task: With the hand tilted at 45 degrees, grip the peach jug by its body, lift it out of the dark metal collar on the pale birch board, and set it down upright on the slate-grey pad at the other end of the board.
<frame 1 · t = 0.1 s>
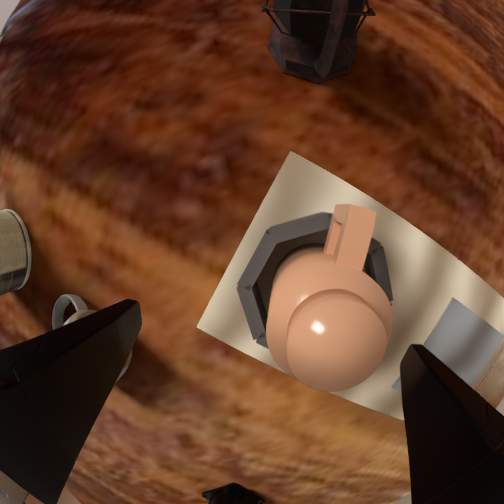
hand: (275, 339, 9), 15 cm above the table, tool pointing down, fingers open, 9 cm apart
coffee can: (10, 249, 27), on the table
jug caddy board: (390, 323, 24), on the table
peach jug: (313, 284, 22), point 1 cm above the table, touching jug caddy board
lantern: (312, 47, 21), on the table
ceramic mug: (96, 335, 28), on the table
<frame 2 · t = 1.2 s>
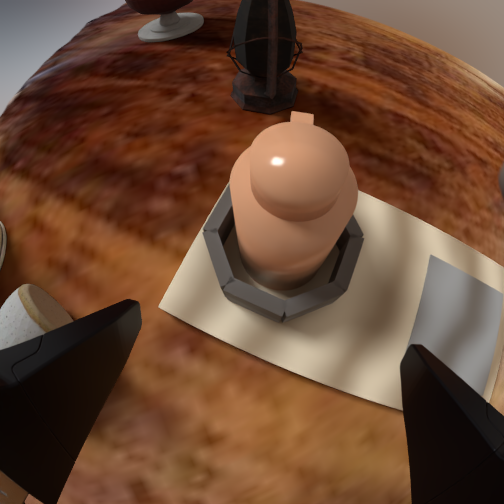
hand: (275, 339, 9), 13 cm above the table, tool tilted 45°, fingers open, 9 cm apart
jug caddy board: (375, 297, 22), on the table
peach jug: (281, 249, 22), point 2 cm above the table, touching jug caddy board
lantern: (264, 94, 32), on the table
ceramic mug: (45, 340, 22), on the table
mate gourd: (172, 26, 41), on the table
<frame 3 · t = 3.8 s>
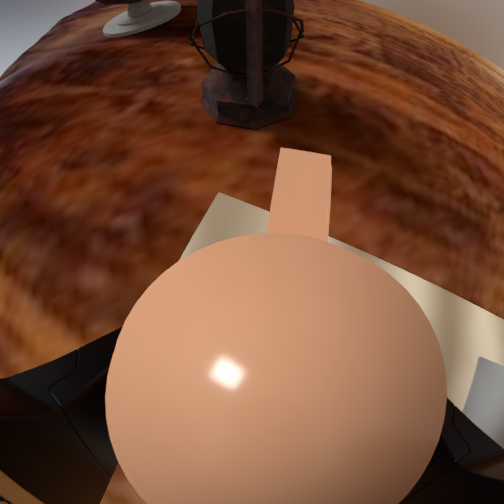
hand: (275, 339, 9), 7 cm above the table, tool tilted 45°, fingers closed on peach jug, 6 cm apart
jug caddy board: (397, 421, 13), on the table
peach jug: (263, 375, 13), point 2 cm above the table, touching gripper, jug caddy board
lantern: (249, 99, 22), on the table
mate gourd: (143, 17, 31), on the table
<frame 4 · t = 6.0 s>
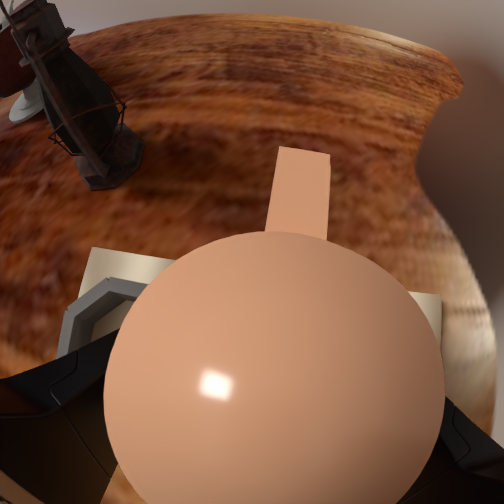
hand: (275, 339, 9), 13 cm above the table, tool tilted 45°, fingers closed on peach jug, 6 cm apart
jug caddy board: (250, 380, 20), on the table
peach jug: (263, 374, 13), point 8 cm above the table, touching gripper
lantern: (112, 161, 28), on the table
mate gourd: (38, 95, 35), on the table
when the fingers open (8 cm above the table, at t = 8.3 s): peach jug drops 1 cm, resting on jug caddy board.
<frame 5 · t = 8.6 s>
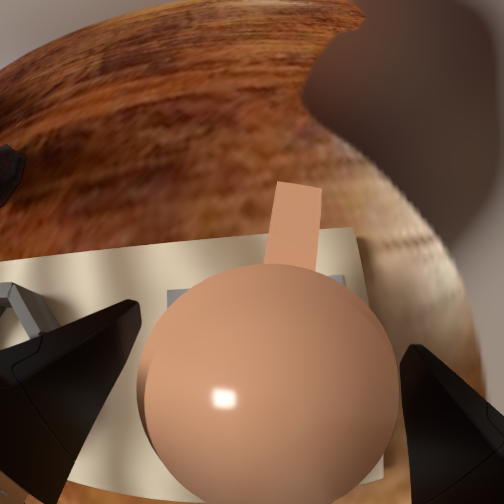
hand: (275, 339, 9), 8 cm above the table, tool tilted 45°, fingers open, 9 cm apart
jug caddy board: (125, 375, 16), on the table
peach jug: (262, 376, 15), point 2 cm above the table, touching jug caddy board
lantern: (2, 182, 22), on the table
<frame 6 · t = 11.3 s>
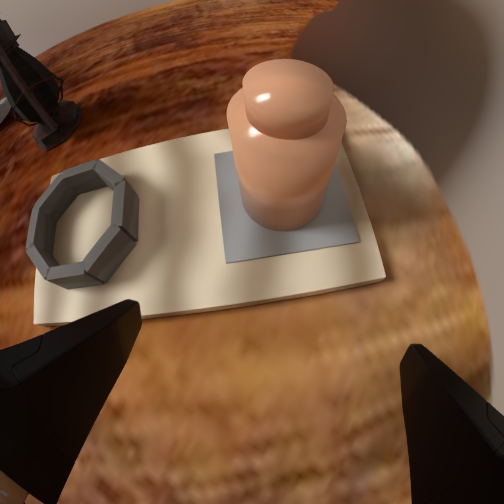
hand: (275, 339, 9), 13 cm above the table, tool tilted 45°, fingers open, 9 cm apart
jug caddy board: (181, 219, 25), on the table
peach jug: (282, 193, 23), point 2 cm above the table, touching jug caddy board
lantern: (60, 129, 31), on the table
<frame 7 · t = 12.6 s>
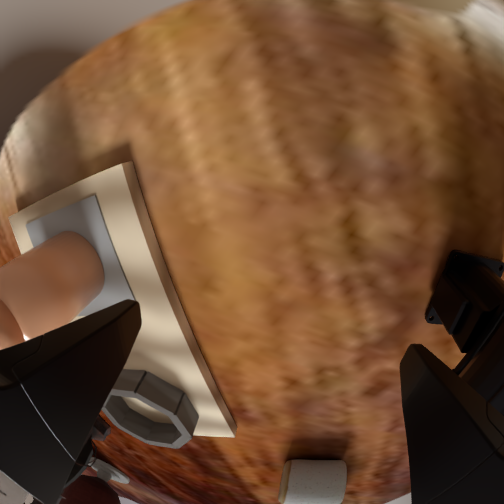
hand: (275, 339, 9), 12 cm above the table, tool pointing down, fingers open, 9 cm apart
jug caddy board: (121, 335, 26), on the table
peach jug: (75, 266, 22), point 2 cm above the table, touching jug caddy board
lantern: (91, 418, 37), on the table
ceramic mug: (312, 464, 33), on the table
mate gourd: (105, 468, 49), on the table
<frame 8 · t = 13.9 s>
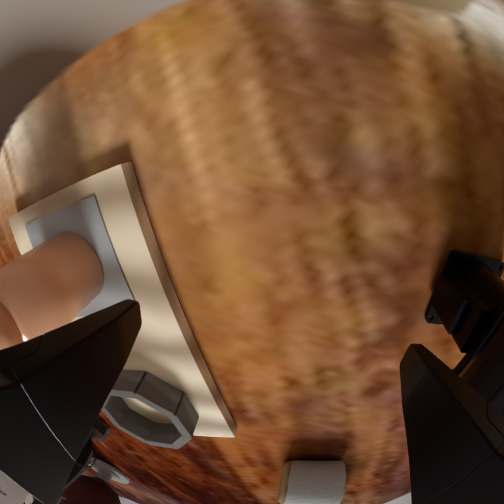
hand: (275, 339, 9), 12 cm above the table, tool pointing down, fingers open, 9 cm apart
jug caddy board: (121, 335, 26), on the table
peach jug: (75, 266, 22), point 2 cm above the table, touching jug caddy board
lantern: (91, 418, 37), on the table
ceramic mug: (312, 465, 33), on the table
mate gourd: (105, 468, 49), on the table
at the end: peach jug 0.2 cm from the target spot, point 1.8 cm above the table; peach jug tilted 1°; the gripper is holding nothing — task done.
